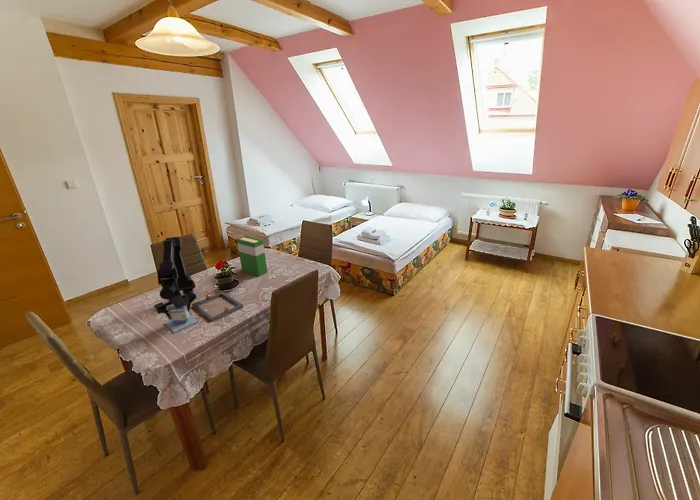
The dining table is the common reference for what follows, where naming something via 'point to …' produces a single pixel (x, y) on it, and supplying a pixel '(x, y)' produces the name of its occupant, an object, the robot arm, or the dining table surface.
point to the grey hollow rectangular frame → (226, 310)
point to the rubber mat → (181, 324)
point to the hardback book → (252, 255)
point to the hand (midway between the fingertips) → (179, 315)
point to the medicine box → (178, 314)
